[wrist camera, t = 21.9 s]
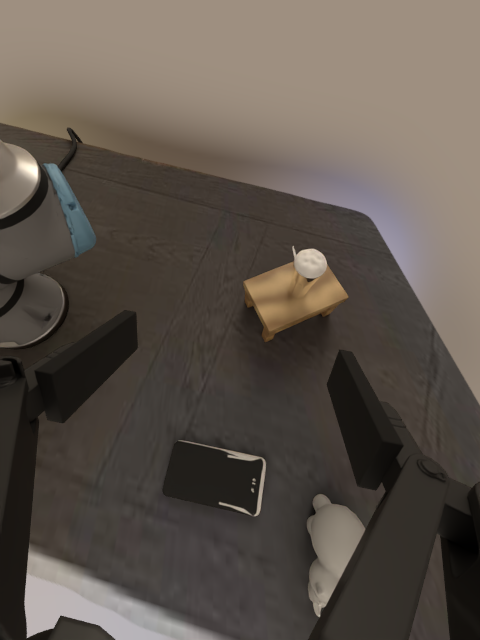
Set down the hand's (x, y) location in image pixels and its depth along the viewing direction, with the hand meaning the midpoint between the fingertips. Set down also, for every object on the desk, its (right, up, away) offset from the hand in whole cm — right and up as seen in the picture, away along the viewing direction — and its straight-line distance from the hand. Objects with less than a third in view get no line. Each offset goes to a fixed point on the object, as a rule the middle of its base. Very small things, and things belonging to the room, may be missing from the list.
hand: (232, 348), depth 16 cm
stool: (+10, +4, +33) cm, 35 cm away
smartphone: (-3, -23, +23) cm, 33 cm away
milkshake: (+10, +7, +26) cm, 29 cm away
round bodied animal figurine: (+12, -31, +21) cm, 39 cm away
